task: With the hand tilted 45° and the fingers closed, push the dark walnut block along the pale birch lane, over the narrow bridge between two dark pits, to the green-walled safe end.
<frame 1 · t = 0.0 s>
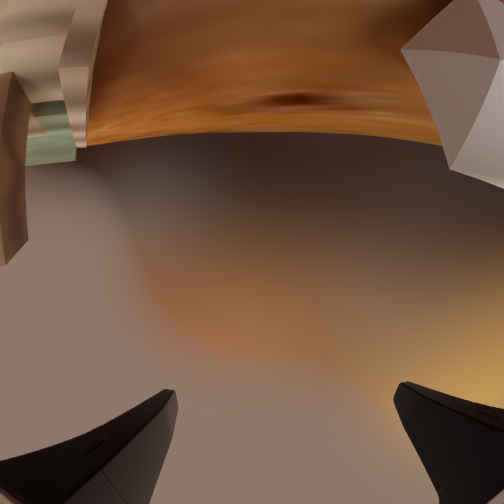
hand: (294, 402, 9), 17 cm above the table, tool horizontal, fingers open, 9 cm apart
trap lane: (3, 80, 10), on the table
die: (483, 20, 5), on the table
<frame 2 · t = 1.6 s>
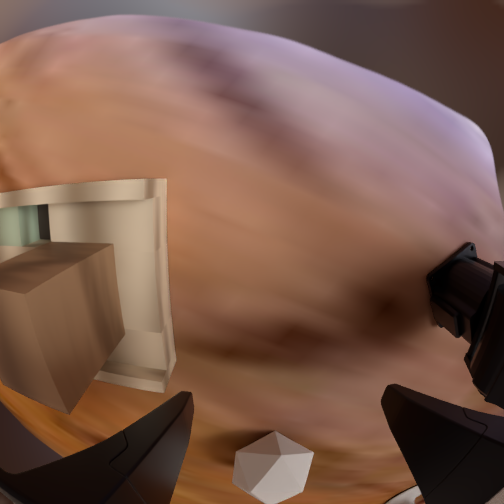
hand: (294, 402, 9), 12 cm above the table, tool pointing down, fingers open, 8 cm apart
walnut block: (85, 288, 18), point 3 cm above the table, touching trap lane
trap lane: (60, 271, 21), on the table
chalice: (406, 494, 35), on the table
die: (270, 443, 26), on the table
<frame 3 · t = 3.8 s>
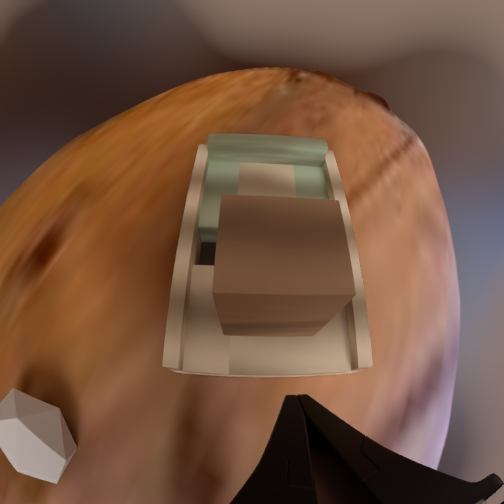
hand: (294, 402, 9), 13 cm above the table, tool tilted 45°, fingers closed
walnut block: (269, 300, 22), point 3 cm above the table, touching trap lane
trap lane: (265, 262, 27), on the table
die: (56, 436, 17), on the table
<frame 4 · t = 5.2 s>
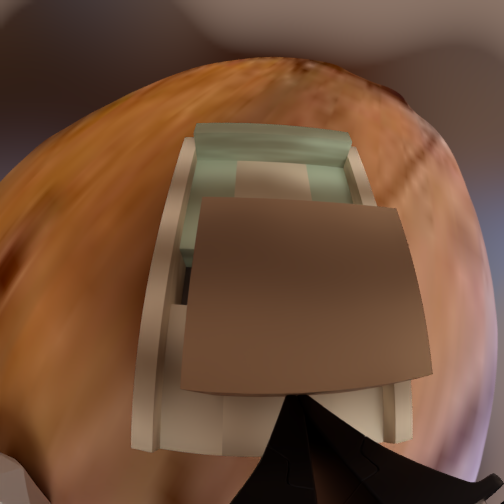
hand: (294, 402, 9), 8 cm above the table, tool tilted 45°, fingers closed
walnut block: (277, 346, 15), point 3 cm above the table
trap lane: (271, 296, 20), on the table
die: (28, 487, 10), on the table
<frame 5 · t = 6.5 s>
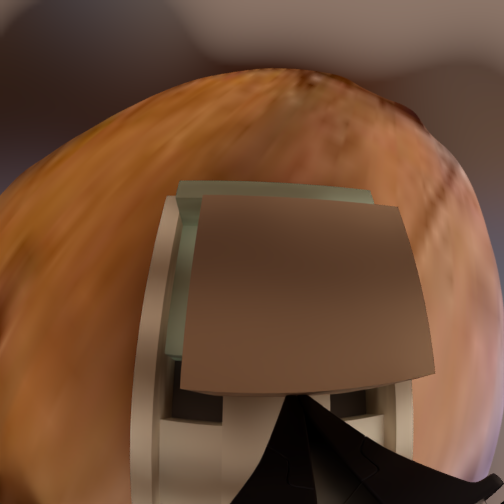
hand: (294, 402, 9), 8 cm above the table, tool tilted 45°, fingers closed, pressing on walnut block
walnut block: (278, 346, 15), point 3 cm above the table, touching gripper
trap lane: (272, 394, 16), on the table
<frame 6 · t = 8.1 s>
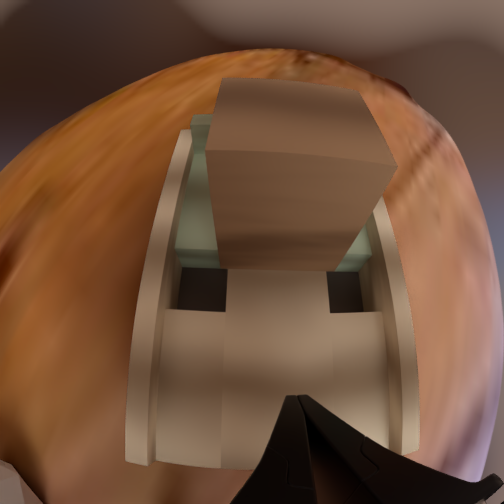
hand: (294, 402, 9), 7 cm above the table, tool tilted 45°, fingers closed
walnut block: (277, 228, 18), point 3 cm above the table, touching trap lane
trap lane: (273, 298, 19), on the table
die: (25, 493, 9), on the table
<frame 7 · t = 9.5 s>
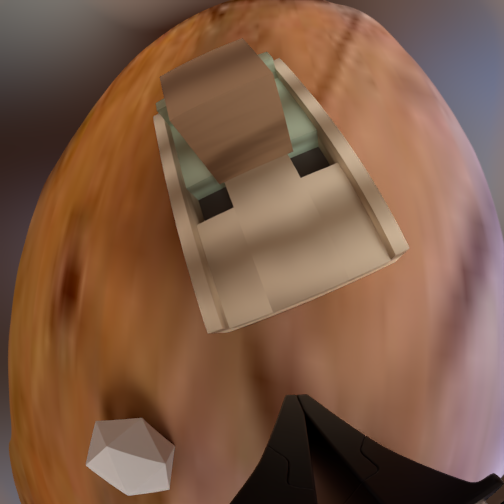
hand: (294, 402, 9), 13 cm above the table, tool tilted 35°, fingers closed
walnut block: (245, 143, 24), point 3 cm above the table, touching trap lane
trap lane: (266, 189, 26), on the table
die: (153, 445, 22), on the table
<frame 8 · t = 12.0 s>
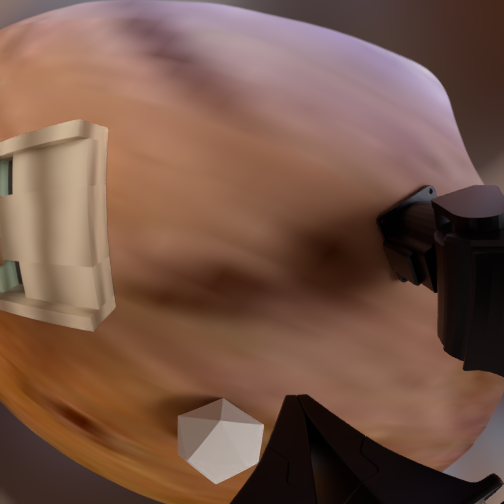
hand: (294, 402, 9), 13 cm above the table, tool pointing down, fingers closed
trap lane: (22, 222, 20), on the table
die: (221, 414, 26), on the table
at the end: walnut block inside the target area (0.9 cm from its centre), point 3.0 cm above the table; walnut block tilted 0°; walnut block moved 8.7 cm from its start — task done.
